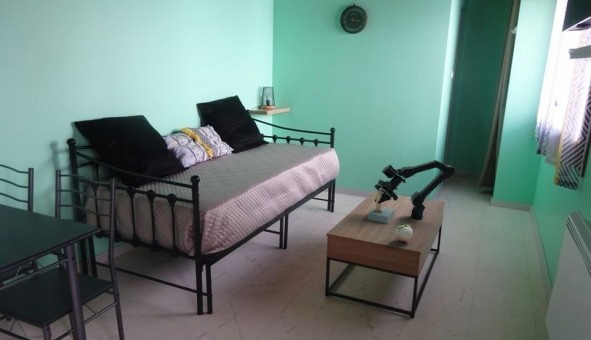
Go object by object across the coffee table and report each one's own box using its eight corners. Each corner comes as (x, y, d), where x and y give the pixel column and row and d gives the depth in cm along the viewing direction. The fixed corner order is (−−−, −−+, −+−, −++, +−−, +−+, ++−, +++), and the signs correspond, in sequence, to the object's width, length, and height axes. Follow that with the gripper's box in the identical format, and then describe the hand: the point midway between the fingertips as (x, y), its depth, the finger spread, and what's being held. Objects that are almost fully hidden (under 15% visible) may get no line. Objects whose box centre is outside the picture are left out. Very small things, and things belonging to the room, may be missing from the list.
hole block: (394, 215, 251) (395, 209, 250) (387, 223, 237) (387, 217, 236) (375, 211, 256) (376, 205, 255) (367, 219, 243) (368, 213, 242)
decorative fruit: (403, 246, 206) (405, 228, 204) (391, 240, 213) (393, 223, 210) (415, 242, 212) (417, 224, 210) (403, 237, 218) (405, 219, 216)
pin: (380, 213, 246) (382, 191, 243) (379, 214, 243) (381, 192, 240) (376, 212, 247) (377, 190, 244) (374, 213, 245) (376, 191, 241)
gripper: (378, 171, 249) (361, 189, 248) (395, 179, 233) (377, 198, 231) (387, 182, 254) (371, 200, 253) (405, 191, 237) (388, 210, 236)
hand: (376, 202), depth 243 cm, fingers closed on pin, 3 cm apart
